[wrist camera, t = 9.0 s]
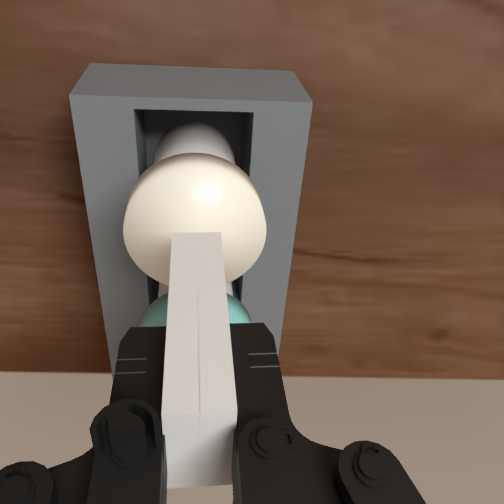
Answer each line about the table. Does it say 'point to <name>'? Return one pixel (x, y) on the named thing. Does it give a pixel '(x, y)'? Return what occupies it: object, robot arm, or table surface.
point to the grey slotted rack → (142, 157)
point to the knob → (194, 202)
